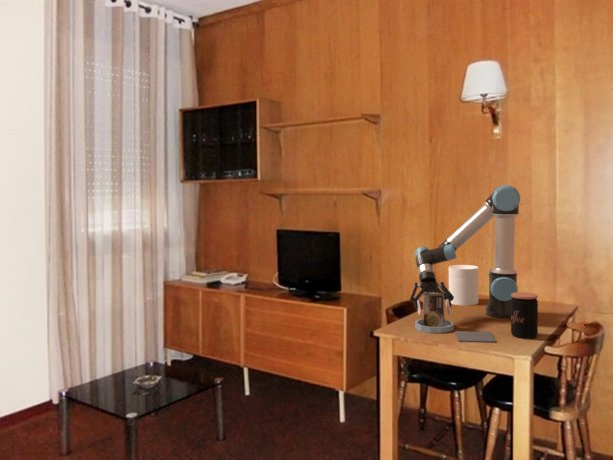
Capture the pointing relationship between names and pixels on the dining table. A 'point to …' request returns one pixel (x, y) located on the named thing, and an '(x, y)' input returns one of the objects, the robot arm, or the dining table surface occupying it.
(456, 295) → the canister
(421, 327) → the faceted grey ring
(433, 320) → the coffee box
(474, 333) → the rubber mat
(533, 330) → the coffee jar
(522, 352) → the dining table surface
